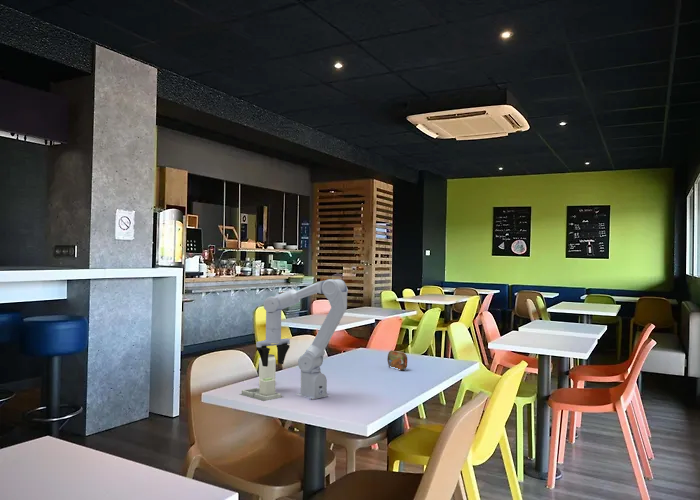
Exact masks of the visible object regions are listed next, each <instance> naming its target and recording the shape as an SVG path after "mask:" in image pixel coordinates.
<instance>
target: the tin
mask: <svg viewBox="0 0 700 500" xmlns="http://www.w3.org/2000/svg"><path fill="white" fill-rule="evenodd" d="M387 365H388V367H389V366H391V367H395V368H398V369H400V370H399V371H404V370H403V369H405V370H406V369H407V367H408V356H407V354H406V353H405V352H403V351H400V350H399V351H398V350H390V351H389V352H388V354H387Z"/></svg>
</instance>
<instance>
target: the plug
mask: <svg viewBox="0 0 700 500" xmlns="http://www.w3.org/2000/svg"><path fill="white" fill-rule="evenodd" d="M259 388H260V390H259V395H263V396H271V395H275V392H276V379H275V380H273V379H272V378H264V379H263V380H260V385H259Z"/></svg>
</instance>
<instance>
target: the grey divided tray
mask: <svg viewBox="0 0 700 500" xmlns="http://www.w3.org/2000/svg"><path fill="white" fill-rule="evenodd" d="M259 390H260V387H253V388H247V389H242V390H241V393H239V394H238V395H240V396H243V397H248V398H251V399H255V400H259V401H263V402H266V401H272V400H276V399H280V398H284V396H283V395H282V393H279V392H276V391H275V395H271V396H263V395H259Z"/></svg>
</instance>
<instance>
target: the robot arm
mask: <svg viewBox="0 0 700 500" xmlns="http://www.w3.org/2000/svg"><path fill="white" fill-rule="evenodd" d="M348 292H349V289H348V286H347V285H346V281H344V280H343V279H341V278H335V279H332V278H330V279H329V278H327V279H326V280H320V281H317V282H314V283H313V284H310V285H308V286H304V287H303V288H301V289H299V290H296V289H294V288H287V289H286V290H285V291H284V292H282V293H279V292H278V293H276V294H275V296H268V297H266V298H265V299H264V300H263V309H264V310H265V339H264V340H261V341H260V340H259V341H256V342H255V343H256V344H255V347H256V351H257V352H258V355H259V358H260V357H261V361H262V365H263V366H265V367H267V366H268V355H269V353H270V350H271V348H270V346H271V347H272V346H276V349H277V363H278V365H284V362H285V359H286V355H287V353H288V351H289V349H290V346H291V345H290V343H291V342H290V341H291V339H290V338H282V310H284V309H287V308H290V307H292V306H295V305H297V304H299V302H300V300H301V299H303V298H307V297H310V296H313V295H315V294H320V295H321V294H323V295H324V297H325V298H326V299H327V300H328V303H329V305H330V309H329V311H328V313H327V315H326V317H325V319H324V320H323V323H322V324H321V326H320V327H319V330H318V331H317V333H316V336H315V338H314V339H313V341H312V343H311V344H310V346H308V348H307V349H306V350H305V352H304V353H303V354H301V356H300V357H299V358H298V361H297V366H298V368H299V369H300V393H296V394H295V395H297V396H300V397H305V398H308V399H310V400H316V399H321V398H322V399H323V398H326V397H328V396H329V395H328V393H327V389H328V388H327V387H328V386H327V382H328V381H327V380H328V379H327V376H326V375H325V374H324V373H322V372H321V366H322V365H323V362H324V356H325V354H326V351H325V350H326V348H327V346H328V345H329V342H330V340H331V339H332V336H333V335H334V333H335V332H336V329H337V328H338V325H339V323H340V322H341V320H342V318H343V316H344V314H345V313H346V311H347V308H348Z"/></svg>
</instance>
